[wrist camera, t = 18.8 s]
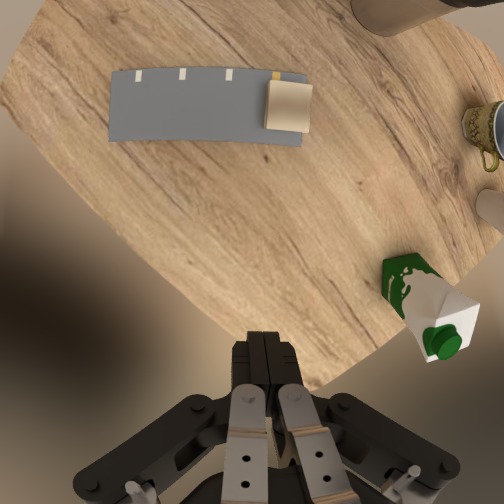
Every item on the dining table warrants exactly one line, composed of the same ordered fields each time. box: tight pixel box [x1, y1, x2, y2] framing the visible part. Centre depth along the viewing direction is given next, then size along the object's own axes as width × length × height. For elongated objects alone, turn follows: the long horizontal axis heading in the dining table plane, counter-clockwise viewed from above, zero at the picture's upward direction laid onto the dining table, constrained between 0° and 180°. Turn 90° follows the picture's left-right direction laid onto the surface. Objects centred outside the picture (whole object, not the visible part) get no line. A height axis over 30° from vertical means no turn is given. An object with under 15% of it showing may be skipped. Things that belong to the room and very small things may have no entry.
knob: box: [264, 80, 313, 133], centre depth 35 cm, size 6×5×4 cm
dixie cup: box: [476, 189, 504, 235], centre depth 41 cm, size 8×8×10 cm
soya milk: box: [382, 253, 480, 362], centre depth 41 cm, size 9×9×20 cm
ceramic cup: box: [462, 101, 504, 172], centre depth 35 cm, size 13×10×10 cm
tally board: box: [109, 67, 307, 147], centre depth 37 cm, size 10×26×2 cm, turn 86°
